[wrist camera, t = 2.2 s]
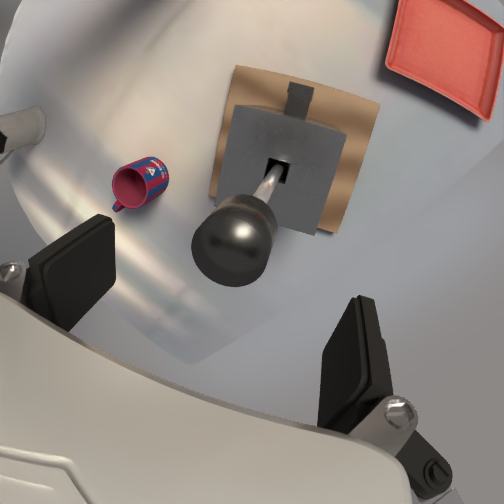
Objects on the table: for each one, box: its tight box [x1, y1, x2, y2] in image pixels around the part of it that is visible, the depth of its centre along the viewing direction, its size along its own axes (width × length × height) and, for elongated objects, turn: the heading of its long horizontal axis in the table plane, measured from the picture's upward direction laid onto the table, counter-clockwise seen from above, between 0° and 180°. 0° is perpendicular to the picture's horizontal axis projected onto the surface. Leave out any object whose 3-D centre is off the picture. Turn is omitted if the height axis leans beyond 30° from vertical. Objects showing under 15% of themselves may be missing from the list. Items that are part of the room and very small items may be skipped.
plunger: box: [191, 158, 290, 287], centre depth 21 cm, size 8×8×21 cm
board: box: [208, 65, 380, 234], centre depth 39 cm, size 20×20×2 cm
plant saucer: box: [385, 0, 504, 122], centre depth 25 cm, size 18×18×3 cm
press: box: [214, 81, 347, 236], centre depth 31 cm, size 13×10×15 cm
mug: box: [112, 157, 169, 212], centre depth 44 cm, size 7×10×7 cm
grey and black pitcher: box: [0, 106, 46, 165], centre depth 40 cm, size 9×14×15 cm, turn 133°
